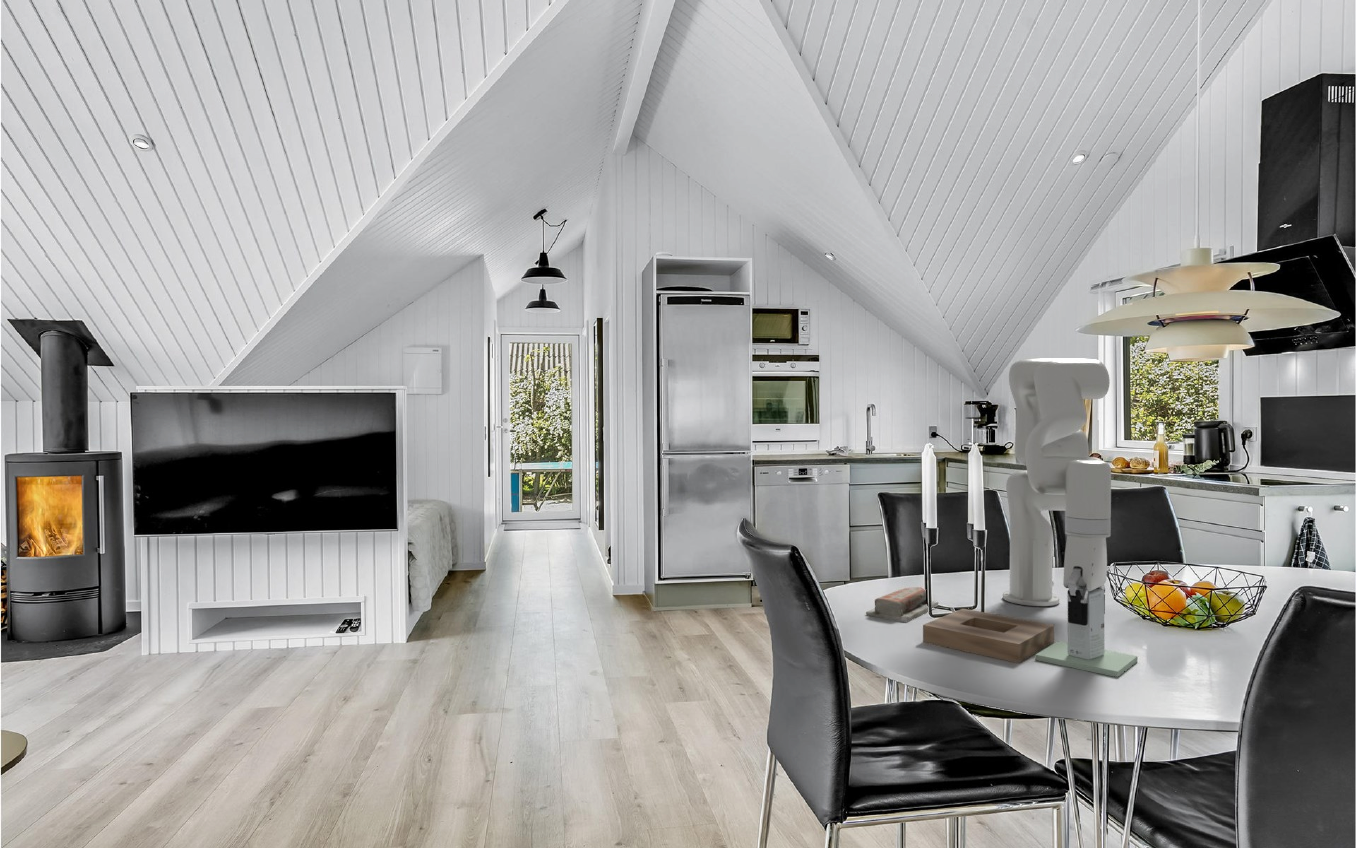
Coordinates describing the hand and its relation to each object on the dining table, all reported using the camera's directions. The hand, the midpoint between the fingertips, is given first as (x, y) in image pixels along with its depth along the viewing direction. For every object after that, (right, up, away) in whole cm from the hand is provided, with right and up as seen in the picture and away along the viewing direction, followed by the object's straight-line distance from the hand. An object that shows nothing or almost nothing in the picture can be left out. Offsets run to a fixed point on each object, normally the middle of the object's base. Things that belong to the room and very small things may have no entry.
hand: (1086, 618), depth 150 cm
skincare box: (0, -7, +1) cm, 7 cm away
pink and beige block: (-24, -8, +37) cm, 45 cm away
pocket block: (-14, -8, +12) cm, 20 cm away
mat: (0, -8, 0) cm, 8 cm away
